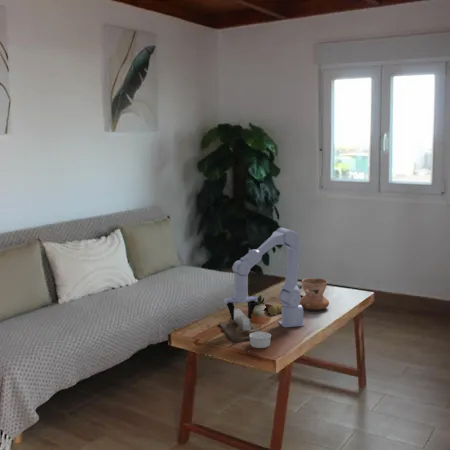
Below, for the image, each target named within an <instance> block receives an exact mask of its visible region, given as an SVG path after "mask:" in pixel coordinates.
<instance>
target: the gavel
mask: <svg viewBox="0 0 450 450" xmlns="http://www.w3.org/2000/svg"><path fill="white" fill-rule="evenodd" d="M264 304H265V306H266V309H265V310H268V313H269V312H270V314H269V315H271V316H277V314H282V302H280V303H279V304H275V305H273V304H268V303H264Z"/></svg>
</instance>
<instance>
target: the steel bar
mask: <svg viewBox="0 0 450 450" xmlns="http://www.w3.org/2000/svg"><path fill="white" fill-rule="evenodd" d="M249 321H250V319H249V318H248V315H246V314H245V313H244V312H243V311H242V310H241V309H240V308H234V322H235V323H236V324H237V325H238V326H239V327H240V328H241V329H242V330H243V331H249Z"/></svg>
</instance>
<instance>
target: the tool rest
mask: <svg viewBox="0 0 450 450" xmlns="http://www.w3.org/2000/svg"><path fill="white" fill-rule="evenodd" d="M218 325H219V327H220V328H221V330H222V331H223V332H224V333H225V335H227V337H228V338H229V339H230V341H231V342H232V343H240V342H250V337H249V335H250V334H251V333H253V332H261V331H260V330H259V329H258V328H257V327H256V326H255V325H254V324H253V323H252V322H251V320H249V331H243V330H242V329H241V328H240V327H239V326H238V325H237V324H236V323H235V322H234V320H232V319H231V317H229V318H228V319H227V321H219V322H218Z"/></svg>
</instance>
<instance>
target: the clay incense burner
mask: <svg viewBox="0 0 450 450" xmlns="http://www.w3.org/2000/svg"><path fill="white" fill-rule="evenodd" d="M301 284H302V288H303V291H304V293H305V295H303V296H302V297H301V301H300V304H299V305H302V307H303V310H304V309H305V310H308V311H312V312H313V311H323V310H325V309H327V308H328V307H329V305H330V302H329V299H327V297H325V295H324V293H325V291H326V289H327V286H328V281H327V280H326V279H324V278H320V277H307V278H304V279H302V280H301Z"/></svg>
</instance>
